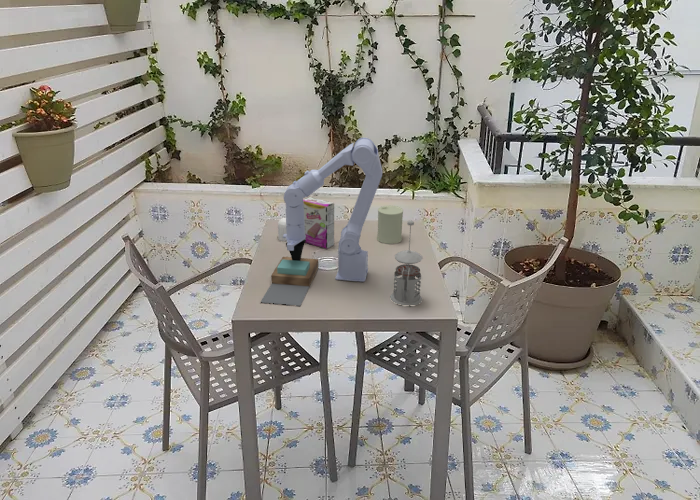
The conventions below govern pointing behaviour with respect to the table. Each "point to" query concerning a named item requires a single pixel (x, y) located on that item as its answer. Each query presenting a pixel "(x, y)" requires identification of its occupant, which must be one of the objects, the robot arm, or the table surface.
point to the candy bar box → (319, 222)
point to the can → (390, 224)
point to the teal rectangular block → (293, 267)
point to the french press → (407, 277)
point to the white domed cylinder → (282, 229)
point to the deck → (296, 279)
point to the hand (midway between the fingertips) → (296, 262)
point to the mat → (285, 294)
